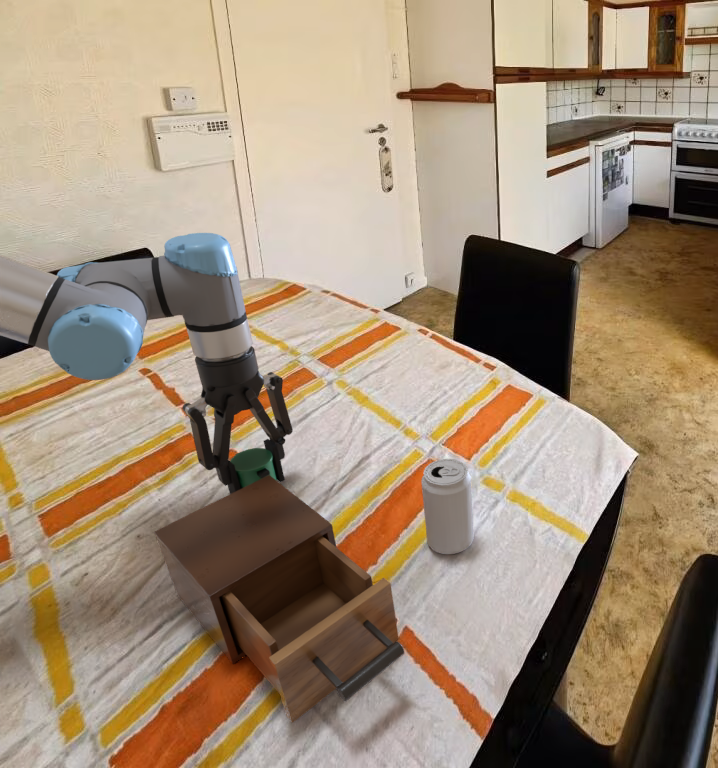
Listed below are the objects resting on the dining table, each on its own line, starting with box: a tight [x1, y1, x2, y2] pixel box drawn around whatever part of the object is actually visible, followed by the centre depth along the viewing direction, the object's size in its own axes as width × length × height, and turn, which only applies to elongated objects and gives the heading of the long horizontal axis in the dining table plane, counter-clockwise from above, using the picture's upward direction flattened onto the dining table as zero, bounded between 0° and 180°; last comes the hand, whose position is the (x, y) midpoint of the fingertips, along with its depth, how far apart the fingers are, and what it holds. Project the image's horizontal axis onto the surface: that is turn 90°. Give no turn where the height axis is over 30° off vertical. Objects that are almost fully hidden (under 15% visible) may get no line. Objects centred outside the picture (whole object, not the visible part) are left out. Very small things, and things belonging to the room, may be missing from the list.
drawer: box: [220, 536, 405, 723], centre depth 66 cm, size 19×13×9 cm
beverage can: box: [420, 458, 475, 555], centre depth 83 cm, size 6×6×12 cm
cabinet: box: [153, 475, 338, 665], centre depth 75 cm, size 15×15×11 cm
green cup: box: [229, 447, 278, 489], centre depth 94 cm, size 8×6×6 cm
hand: (257, 487), depth 95 cm, fingers closed on green cup, 6 cm apart
